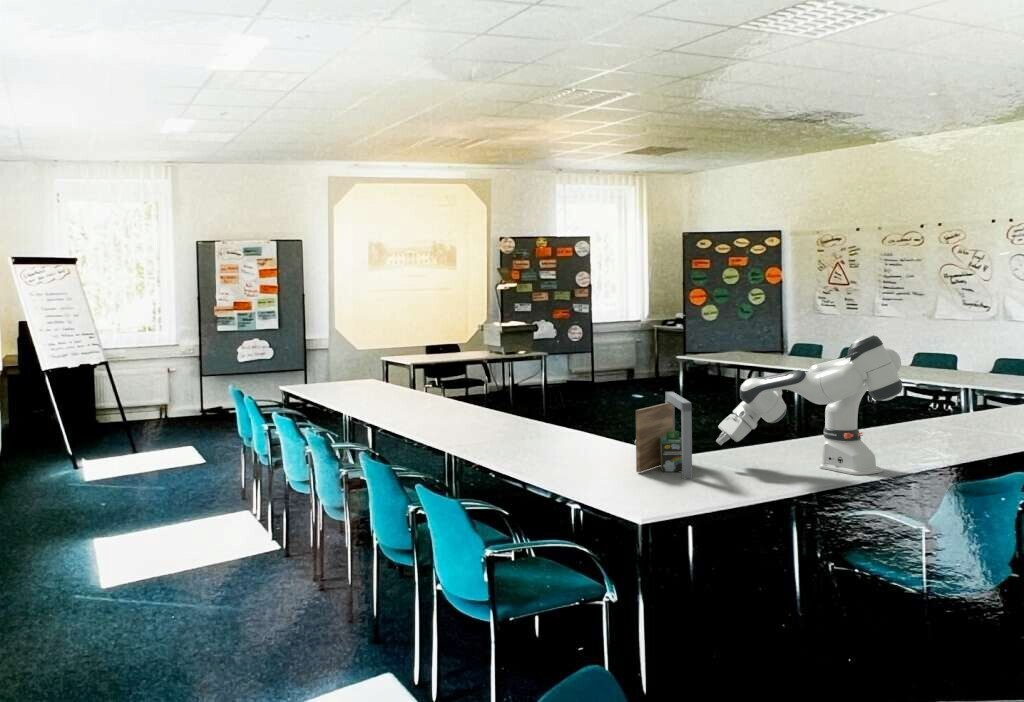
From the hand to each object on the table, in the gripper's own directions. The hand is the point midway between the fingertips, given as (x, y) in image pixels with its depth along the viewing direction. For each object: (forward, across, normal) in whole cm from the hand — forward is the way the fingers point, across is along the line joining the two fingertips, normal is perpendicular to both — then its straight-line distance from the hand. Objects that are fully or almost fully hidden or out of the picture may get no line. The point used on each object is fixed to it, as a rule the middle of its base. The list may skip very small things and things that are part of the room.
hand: (718, 443), depth 303 cm
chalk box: (+19, 0, -5) cm, 19 cm away
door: (+23, -4, -10) cm, 25 cm away
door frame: (+17, -1, -4) cm, 17 cm away
